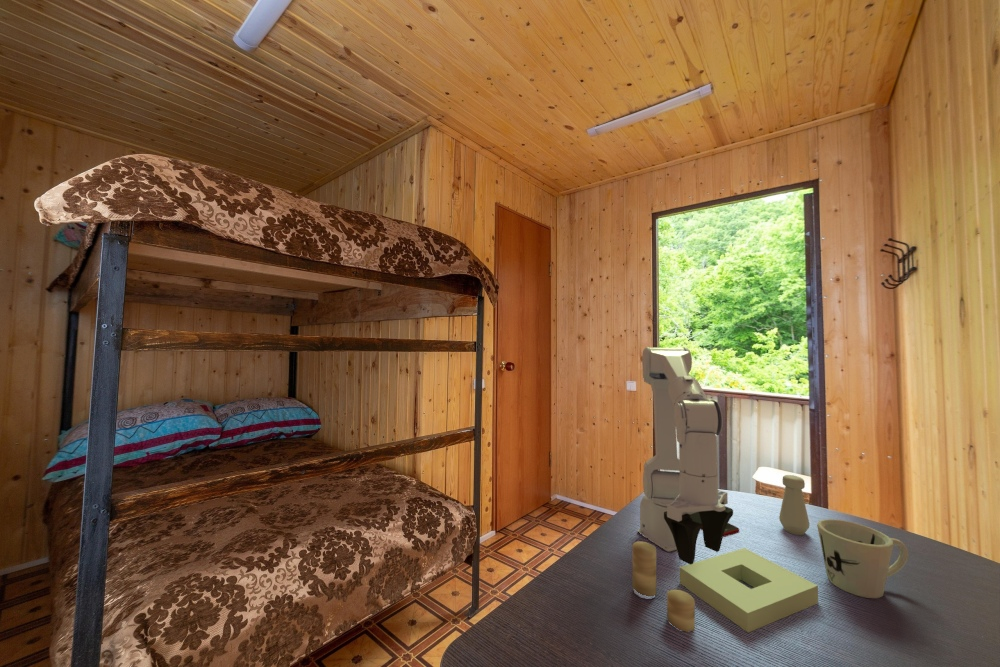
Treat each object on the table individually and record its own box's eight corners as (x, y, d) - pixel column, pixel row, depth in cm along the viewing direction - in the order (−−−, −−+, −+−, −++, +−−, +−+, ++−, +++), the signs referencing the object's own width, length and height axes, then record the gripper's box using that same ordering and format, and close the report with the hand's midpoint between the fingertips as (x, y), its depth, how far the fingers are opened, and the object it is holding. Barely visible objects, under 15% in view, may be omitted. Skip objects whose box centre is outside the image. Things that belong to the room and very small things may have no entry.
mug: (804, 568, 76) (803, 517, 76) (880, 570, 75) (879, 519, 76) (850, 604, 65) (849, 545, 66) (939, 606, 65) (938, 547, 65)
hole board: (679, 583, 71) (679, 567, 71) (744, 562, 78) (744, 547, 78) (748, 632, 59) (747, 613, 59) (818, 603, 66) (817, 585, 66)
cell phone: (688, 508, 104) (688, 504, 104) (741, 532, 91) (741, 528, 91) (668, 512, 101) (668, 509, 101) (719, 539, 88) (719, 535, 88)
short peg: (661, 617, 62) (661, 593, 62) (679, 611, 63) (679, 587, 63) (681, 635, 58) (681, 609, 58) (700, 628, 60) (700, 602, 60)
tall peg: (627, 588, 69) (627, 544, 69) (644, 583, 71) (644, 539, 71) (643, 602, 66) (643, 555, 66) (661, 596, 67) (661, 550, 67)
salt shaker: (815, 538, 87) (814, 482, 88) (787, 536, 89) (786, 480, 89) (800, 526, 93) (799, 473, 93) (774, 524, 94) (773, 471, 95)
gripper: (696, 486, 57) (698, 580, 56) (745, 471, 64) (747, 554, 63) (655, 473, 63) (656, 558, 62) (704, 461, 70) (705, 536, 69)
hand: (699, 554), depth 63 cm, fingers open, 7 cm apart
